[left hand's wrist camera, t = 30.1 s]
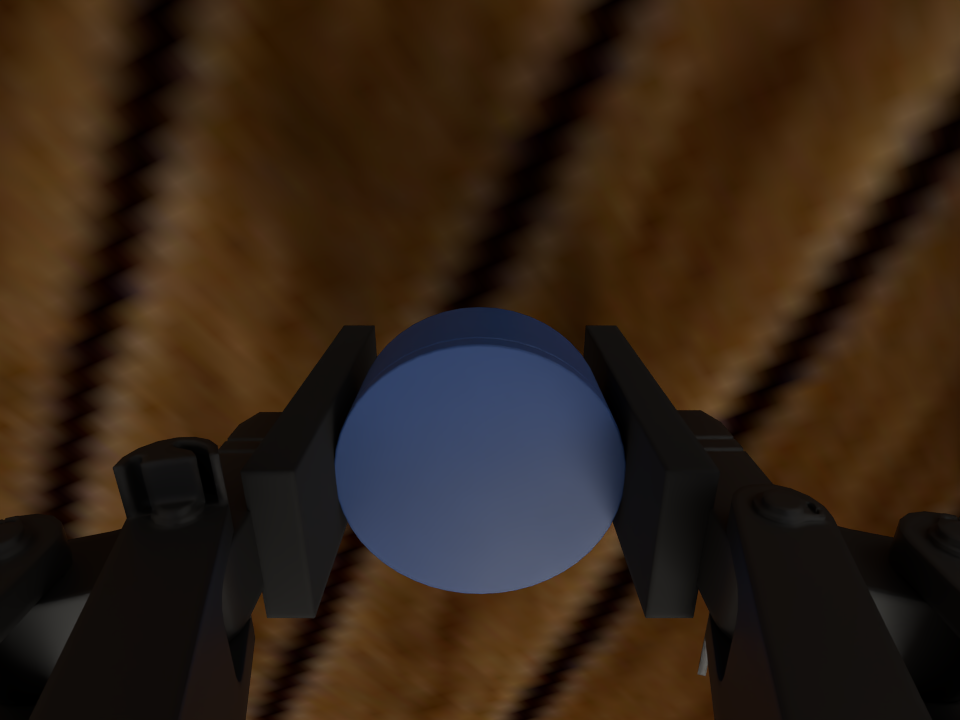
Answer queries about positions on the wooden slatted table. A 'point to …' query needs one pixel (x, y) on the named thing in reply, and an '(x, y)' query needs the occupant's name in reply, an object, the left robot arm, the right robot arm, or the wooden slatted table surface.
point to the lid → (480, 454)
